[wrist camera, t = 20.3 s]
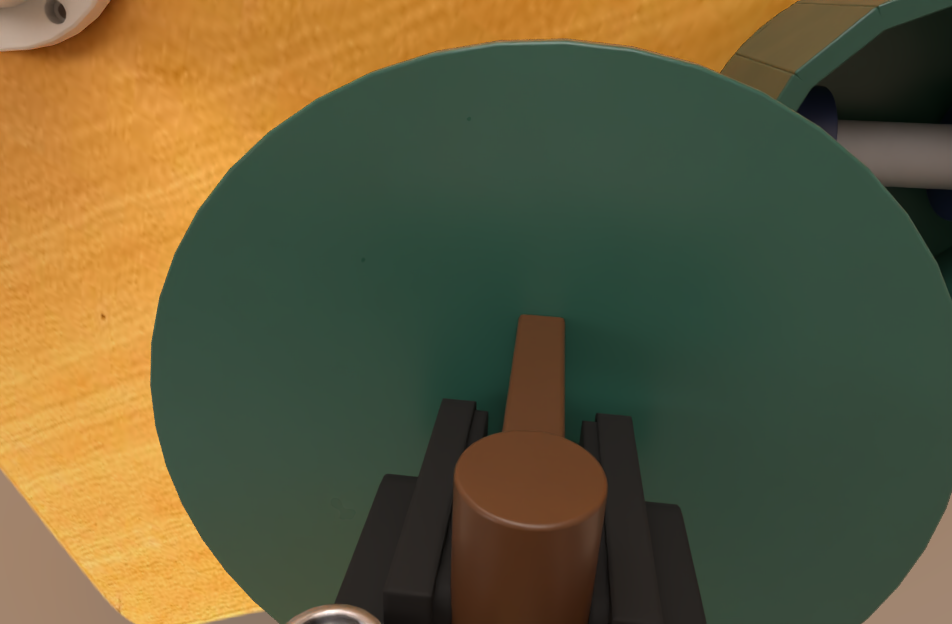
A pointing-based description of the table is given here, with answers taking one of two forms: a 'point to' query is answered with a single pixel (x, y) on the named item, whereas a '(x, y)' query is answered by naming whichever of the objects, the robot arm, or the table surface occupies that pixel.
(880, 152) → the toy dumbbell
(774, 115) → the lid
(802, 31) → the pot
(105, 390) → the table surface
